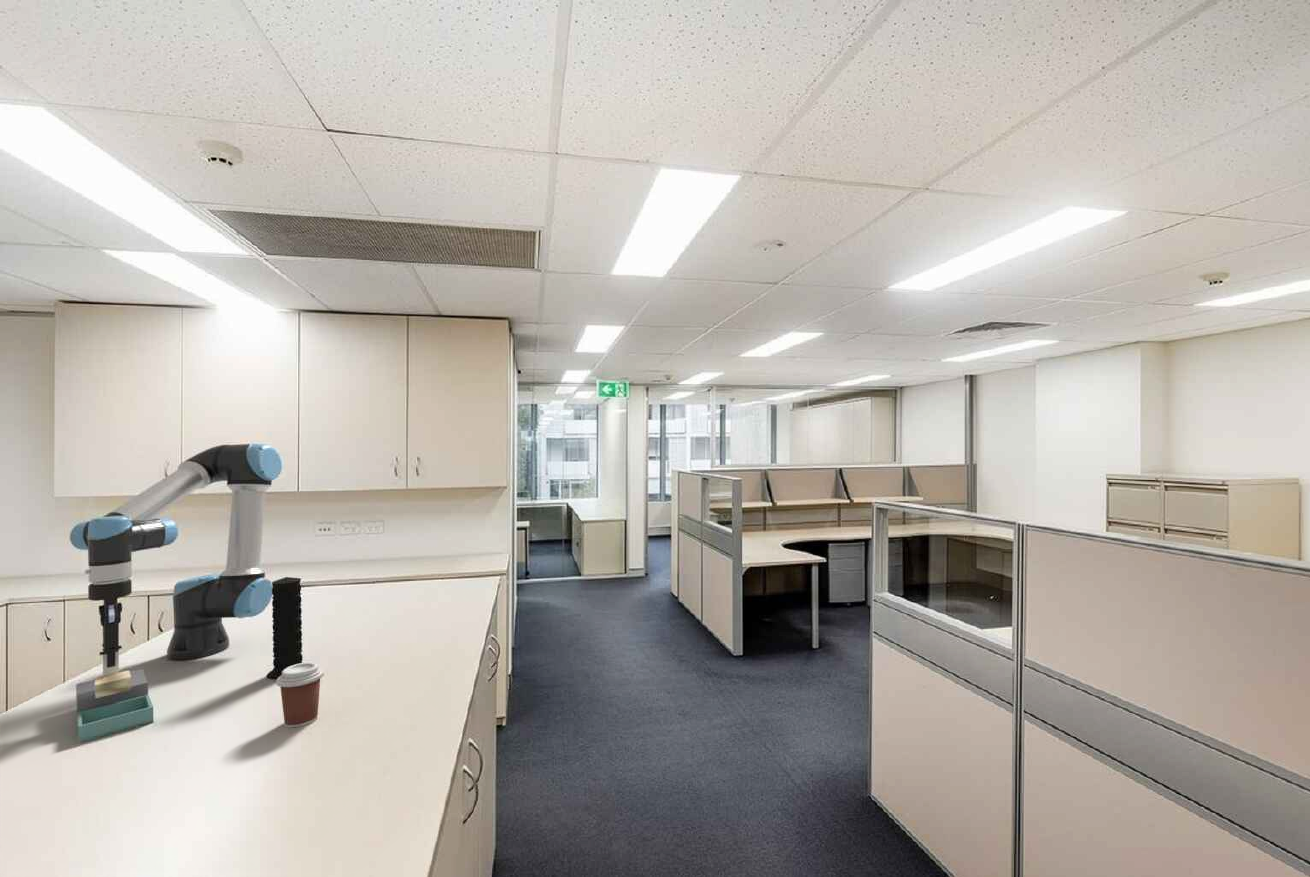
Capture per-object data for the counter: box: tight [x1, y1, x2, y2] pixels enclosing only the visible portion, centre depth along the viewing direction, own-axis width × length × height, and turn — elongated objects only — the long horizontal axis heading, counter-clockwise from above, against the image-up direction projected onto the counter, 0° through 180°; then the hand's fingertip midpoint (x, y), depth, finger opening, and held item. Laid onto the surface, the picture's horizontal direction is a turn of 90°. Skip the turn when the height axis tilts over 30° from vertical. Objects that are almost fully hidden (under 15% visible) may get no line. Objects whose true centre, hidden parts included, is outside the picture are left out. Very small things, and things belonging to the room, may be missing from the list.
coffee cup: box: [276, 661, 325, 729], centre depth 128 cm, size 9×9×12 cm
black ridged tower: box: [265, 576, 304, 680], centre depth 157 cm, size 10×26×10 cm
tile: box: [94, 670, 131, 698], centre depth 133 cm, size 6×6×3 cm
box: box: [77, 694, 154, 744], centre depth 128 cm, size 12×10×4 cm
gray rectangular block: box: [75, 668, 149, 726], centre depth 137 cm, size 12×13×6 cm
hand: (110, 679), depth 136 cm, fingers closed
